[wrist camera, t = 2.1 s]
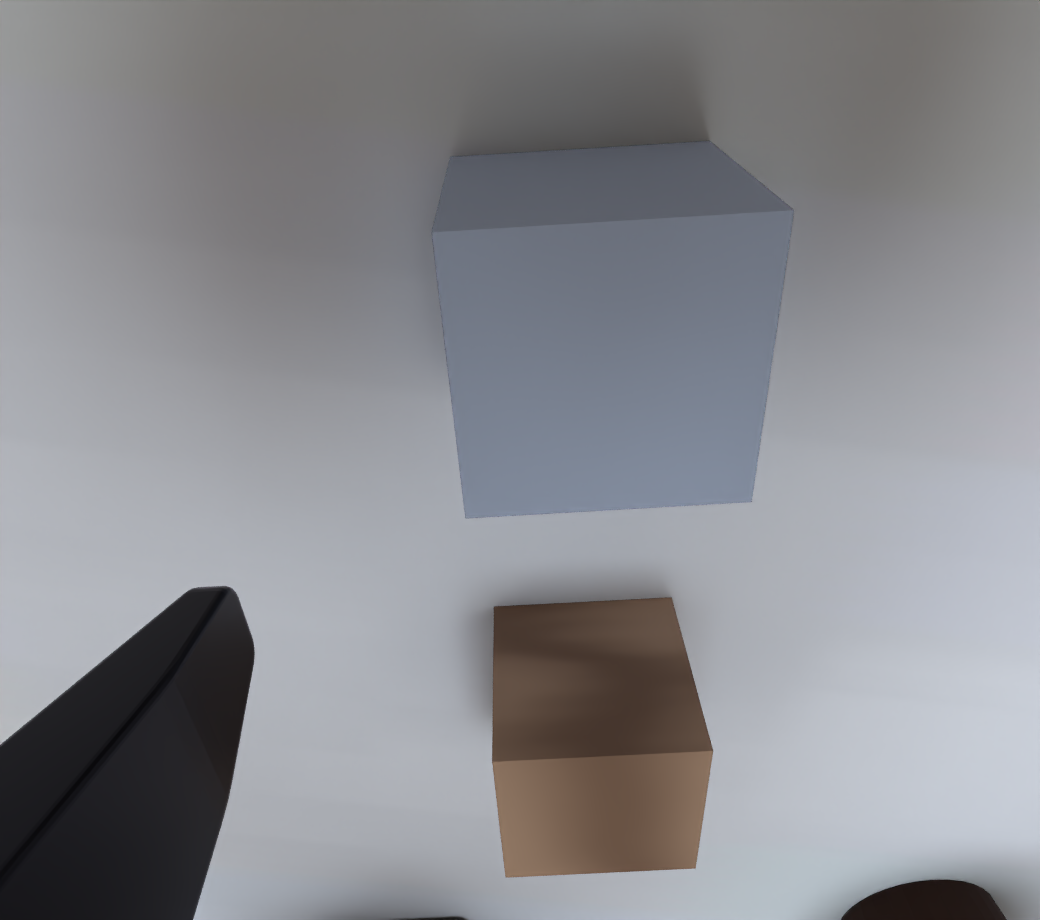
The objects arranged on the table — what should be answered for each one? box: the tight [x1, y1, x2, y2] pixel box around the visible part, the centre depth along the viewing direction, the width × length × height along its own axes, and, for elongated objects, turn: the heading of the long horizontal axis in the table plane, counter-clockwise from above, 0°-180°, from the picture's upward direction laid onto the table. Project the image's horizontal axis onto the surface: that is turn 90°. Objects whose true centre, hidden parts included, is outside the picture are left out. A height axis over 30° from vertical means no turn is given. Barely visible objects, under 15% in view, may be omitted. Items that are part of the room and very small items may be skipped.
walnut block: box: [492, 597, 713, 877], centre depth 20 cm, size 5×5×5 cm
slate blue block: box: [432, 141, 794, 518], centre depth 14 cm, size 5×5×5 cm
